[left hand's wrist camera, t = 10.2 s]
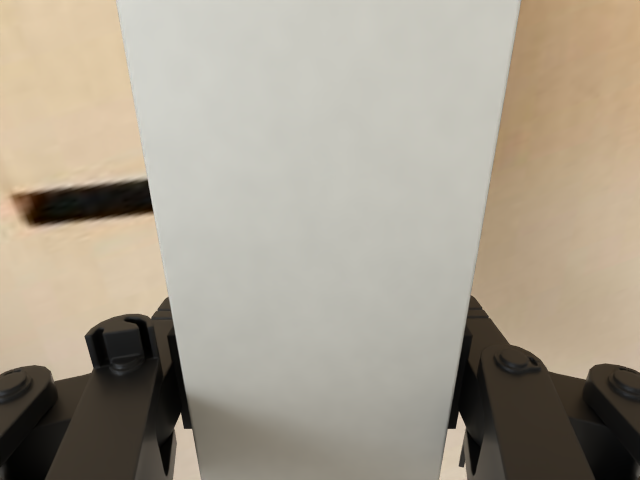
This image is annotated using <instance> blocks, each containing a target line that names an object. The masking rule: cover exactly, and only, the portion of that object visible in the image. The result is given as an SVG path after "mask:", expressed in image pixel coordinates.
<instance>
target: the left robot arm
mask: <svg viewBox="0 0 640 480" xmlns="http://www.w3.org/2000/svg"><path fill="white" fill-rule="evenodd" d="M85 339H86V343H87V346H88V350H89V353H90V357H91V361H92V364H93V368H94V369H93V371H92V373H90V374H86V375H82V376H77V377H73V378H68V379H63V380H59V381H54V380H53V377H52V374H51V371H50V370H48V369H47V368H46V367H43V366H36V365H33V366H25V367H20V368H16V369H13V370H9V371H7V372H4V373H3V374H1V375H0V480H173V473H174V464H175V454H176V445H177V442H176V435H175V430H174V427H175V425H176V422H177V420H178V418H179V415H180V413H181V415H182V420H183V426H184V429H192V424H191V419H190V413H189V408H188V402H187V396H186V391H185V385H184V380H183V374H182V368H181V363H180V357H179V351H178V346H177V340H176V335H175V329H174V323H173V318H172V312H171V306H170V301H169V297H168V298H166V299H165V300H164V301H163V303H162V304H161V305H160V307H159V308H158V311H156V312H155V313H154V315H153V316H152V317H151V319H150V318H149V317H148V316H145V315H141V314H126V315H121V316H117V317H113V318H110V319H108V320H105V321H103V322H101V323H99V324H98V325H96V326H95V327H93V328H91V329H90V330H89V332H88V333H87V334H86V335H85ZM459 412H460V414H461V416H462V419H463V421H464V423H465V426H466V430H465V435H464V440H463V446H462V451H461V456H460V461H459V467H464V464H465V463H466V472H467V480H640V373H639V372H637V371H636V370H633V369H630V368H626V367H623V366H620V365H612V364H599V365H595V366H594V367H592V368H591V369H590V370H589V373H588V376H587V379H586V380H584V379H580V378H575V377H570V376H565V375H561V374H556V373H553V372H549V371H548V370H547V368H546V367H545V365H544V364H543V362H542V361H541V360H540V359H539V358H538V357H536V356H535V355H534V354H532V353H531V352H529V351H527V350H524V349H522V348H520V347H517V346H513V345H510V344H509V343H508V341H507V340H506V339H505V337H504V336H503V335H502V333H501V332H500V331H499V329H498V328H497V327H496V326H495V324H494V323H493V322H492V320H491V319H490V318H489V316H488V315H487V314H486V312H485V311H484V310H482V307H481V306H480V304H479V303H478V302H477V300H476V299H475V298H474V297H473V296H471V295H470V301H469V307H468V313H467V319H466V325H465V330H464V336H463V342H462V348H461V354H460V359H459V365H458V371H457V377H456V383H455V389H454V394H453V400H452V406H451V412H450V418H449V424H448V429H456V424H457V419H458V413H459Z"/></svg>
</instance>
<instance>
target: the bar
mask: <svg viewBox="0 0 640 480" xmlns="http://www.w3.org/2000/svg"><path fill="white" fill-rule="evenodd" d="M116 3H117V9H118V14H119V20H120V26H121V31H122V37H123V42H124V48H125V54H126V59H127V65H128V70H129V76H130V82H131V87H132V93H133V99H134V104H135V110H136V115H137V121H138V127H139V132H140V138H141V144H142V149H143V155H144V160H145V166H146V172H147V177H148V183H149V188H150V194H151V200H152V205H153V211H154V217H155V222H156V228H157V233H158V239H159V245H160V250H161V256H162V262H163V267H164V273H165V278H166V284H167V290H168V295H169V301H170V306H171V312H172V318H173V323H174V329H175V335H176V340H177V346H178V351H179V357H180V363H181V368H182V374H183V380H184V385H185V391H186V396H187V402H188V408H189V413H190V419H191V424H192V430H193V436H194V441H195V447H196V453H197V458H198V464H199V469H200V475H201V480H439V476H440V470H441V464H442V458H443V453H444V447H445V441H446V435H447V429H448V424H449V418H450V412H451V406H452V400H453V394H454V389H455V383H456V377H457V371H458V365H459V359H460V354H461V348H462V342H463V336H464V330H465V325H466V319H467V313H468V307H469V301H470V295H471V290H472V284H473V278H474V272H475V266H476V261H477V255H478V249H479V243H480V237H481V231H482V226H483V220H484V214H485V208H486V202H487V196H488V191H489V185H490V179H491V173H492V167H493V162H494V156H495V150H496V144H497V138H498V132H499V127H500V121H501V115H502V109H503V103H504V98H505V92H506V86H507V80H508V74H509V68H510V63H511V57H512V51H513V45H514V39H515V33H516V28H517V22H518V16H519V10H520V4H521V0H116Z"/></svg>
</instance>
